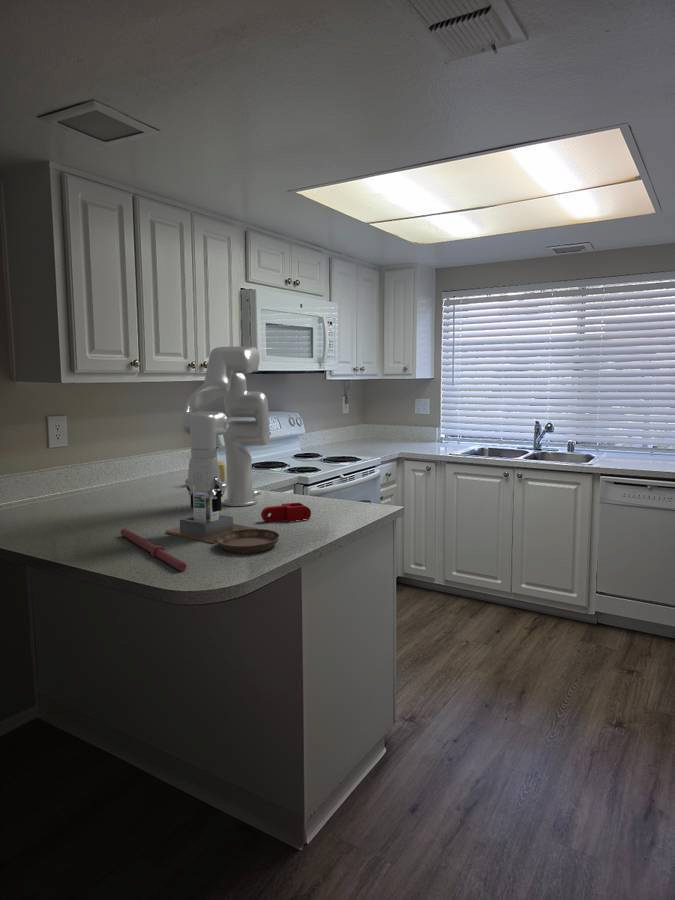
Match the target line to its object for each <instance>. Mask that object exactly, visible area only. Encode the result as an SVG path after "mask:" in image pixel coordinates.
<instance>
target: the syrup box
mask: <svg viewBox="0 0 675 900" xmlns="http://www.w3.org/2000/svg"><path fill="white" fill-rule="evenodd" d="M215 494H216V492H215ZM212 499H214V498H213V496H212V495H211V493H210V492H208V493H206V492H199V491H196V490H195V486H193V505H194V508H193V516H194V521H198V522H203V523H207V522H210V521H214V520H218V519H219V515H220V514H219V513H220V511H216V512H213V511H212Z"/></svg>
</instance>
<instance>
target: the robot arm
mask: <svg viewBox="0 0 675 900" xmlns="http://www.w3.org/2000/svg"><path fill="white" fill-rule="evenodd" d="M260 356H261V355H260V352H259V350H258V349H257V347H255V346H219V347H215V348H213V349H211V351H210V353H209V358H208V361H207V366H206V372H205V375H204V376H205V378H204V381H203V384H202V385H200V387H198V388H196V390H195V391H194V392H192V393H191V395H190V396H188V398H187V400H186V402H185V404H184V409H183V413H182V417H181V418H182V420H181V426H182V427H181V428H182V430H183V432H184V433H185V434H186V435H189V436H190V454H191V458H190V459H189V462H188V472H187V474H188V475H187V477H188V478H186V479H185V480H184V483H185V486H186V490H187V491H188V495H189V496H190V497H189V499H190V508H191V509H194V505H193V486H195V490H196V491H199V492H206V493H208V492H210V493H211V495H212V496H213V498H214V499H212V511H213V512H216V511H219V512H220V511H222V503H223V505H225V506H228V507H246V506H247V507H248V506H252V505H256V504H257V502H258V500H257V498H255V497H256V496H260V495H262V491H261V490H260V489H258V490H254V489H253V470H252V469H253V468H252V467H253V464H252V456H251V453H250V452H249V451H248V449H247V448H246V447H249V446H250V447H257V446H261V447H262V446H266V445H267V444H268V443H270V434H271V433H270V432H271V431H270V416H269V401H268V398H267V396H266V394H265V393H264V392H262V391H248V389H247V388H248V386H247V378H246V376H245V375H246V374H247V375H248V374H251V373H253V372H254V371H256V370H257V369H258V368H259V365H260V362H261V361H260V360H261V358H260ZM222 398H223V400H224V403H223V404H224V410H225V413H224V412H222V411H213V410H211V411H209V410H208V411H206V410H205V411H199V410H200V409H201V408H202V407H203V406H205V405H207V404H210V403H212V402H215V401H217V400H219V399H222ZM229 417H230V418H254V419H255V420H247V419H245V420H241V419H240V420H237V419H236V420H229ZM221 435H222V438H223V443H224V449H225V460H226V461H225V470H226V483H225V484H224V483H223V482H222V481H221V480H220V472H219V465H218V462H219V460H218V457H217V437H216V436H221ZM226 488H227V489H226ZM225 490H226V492H227V494H226V495H227V498H226V499H224V500H223V501H222V498H223V496H224V494H225ZM215 492H216V494H215Z"/></svg>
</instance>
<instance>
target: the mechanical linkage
mask: <svg viewBox="0 0 675 900" xmlns="http://www.w3.org/2000/svg"><path fill="white" fill-rule="evenodd" d="M269 514H270V515H269ZM311 516H312V510H311V508H310V507H308V506H306V505H304V504H303V503H301V502H291V503H289V502H288V503H281V505H275V506H267V507H264V508H263V509H262V511H261V513H260V517H261V519H262V520H263V521H264V522H266V523H277V522H278V523H279V522H284V521H286V520H287V521H286V522H288V523H292V522H291V521H294V522H297V521H296V520H303V519H308V520H310V518H311ZM303 521H304V520H303Z"/></svg>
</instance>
